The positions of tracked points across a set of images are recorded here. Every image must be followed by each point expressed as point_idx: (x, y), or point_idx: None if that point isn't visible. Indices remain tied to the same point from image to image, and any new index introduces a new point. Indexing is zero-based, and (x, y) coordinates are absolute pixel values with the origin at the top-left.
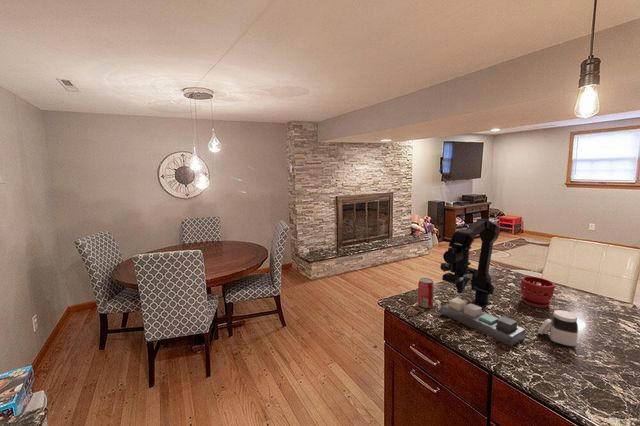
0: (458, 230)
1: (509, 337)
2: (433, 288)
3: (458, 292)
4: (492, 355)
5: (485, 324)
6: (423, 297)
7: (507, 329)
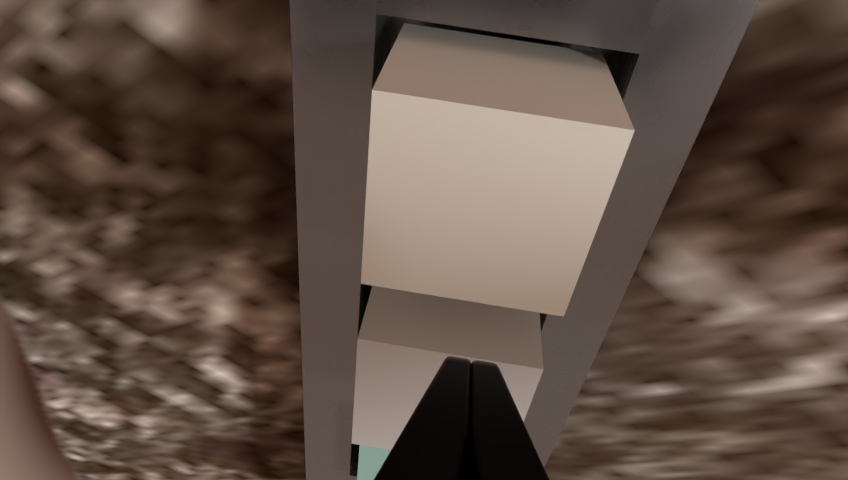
0: None
1: None
2: None
3: (440, 374)
4: (140, 441)
5: (314, 447)
6: None
7: None
